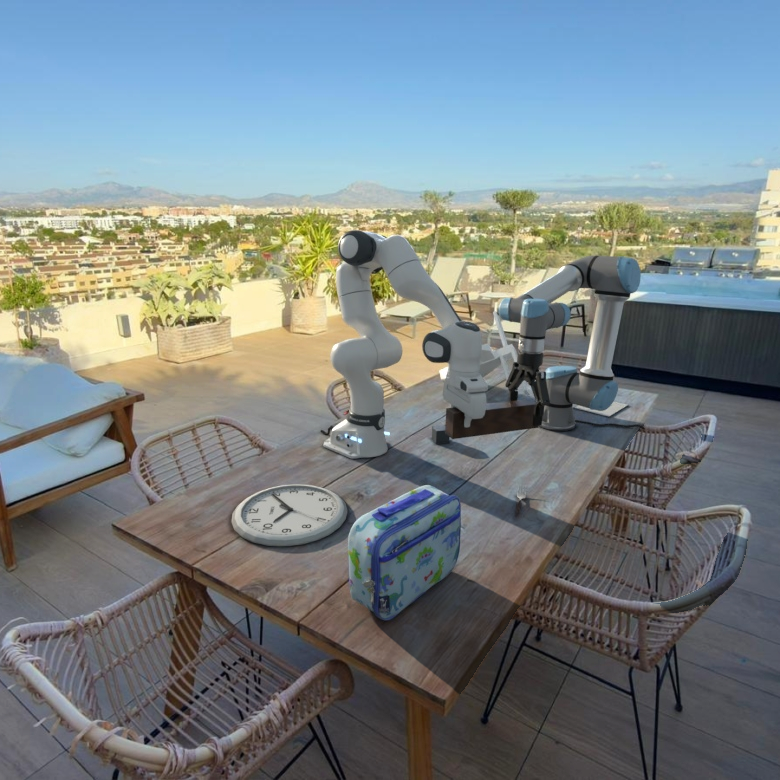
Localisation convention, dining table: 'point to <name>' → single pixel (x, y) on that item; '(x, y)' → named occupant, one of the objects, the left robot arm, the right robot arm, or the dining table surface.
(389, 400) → the dining table surface
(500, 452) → the dining table surface
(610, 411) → the invitation card
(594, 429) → the dining table surface
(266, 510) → the wall clock
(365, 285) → the left robot arm
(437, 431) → the slate block
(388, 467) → the dining table surface
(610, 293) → the right robot arm
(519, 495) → the fork
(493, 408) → the plank
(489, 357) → the white plastic object
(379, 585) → the lunch box
